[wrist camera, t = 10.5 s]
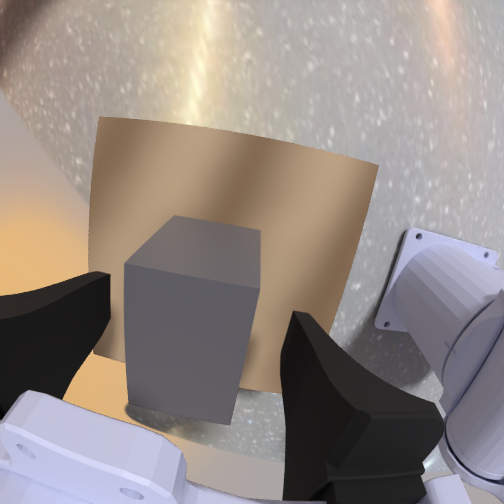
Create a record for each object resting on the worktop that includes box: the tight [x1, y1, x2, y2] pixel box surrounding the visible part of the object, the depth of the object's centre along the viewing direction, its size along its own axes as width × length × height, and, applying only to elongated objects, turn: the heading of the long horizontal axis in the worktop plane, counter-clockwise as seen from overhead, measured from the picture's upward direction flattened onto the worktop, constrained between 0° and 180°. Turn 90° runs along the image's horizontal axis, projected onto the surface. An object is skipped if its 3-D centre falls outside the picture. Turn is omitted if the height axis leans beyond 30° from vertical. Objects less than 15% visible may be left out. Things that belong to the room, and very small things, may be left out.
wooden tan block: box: [88, 117, 379, 394], centre depth 16 cm, size 13×14×1 cm
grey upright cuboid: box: [124, 215, 261, 425], centre depth 13 cm, size 4×6×6 cm, turn 170°
